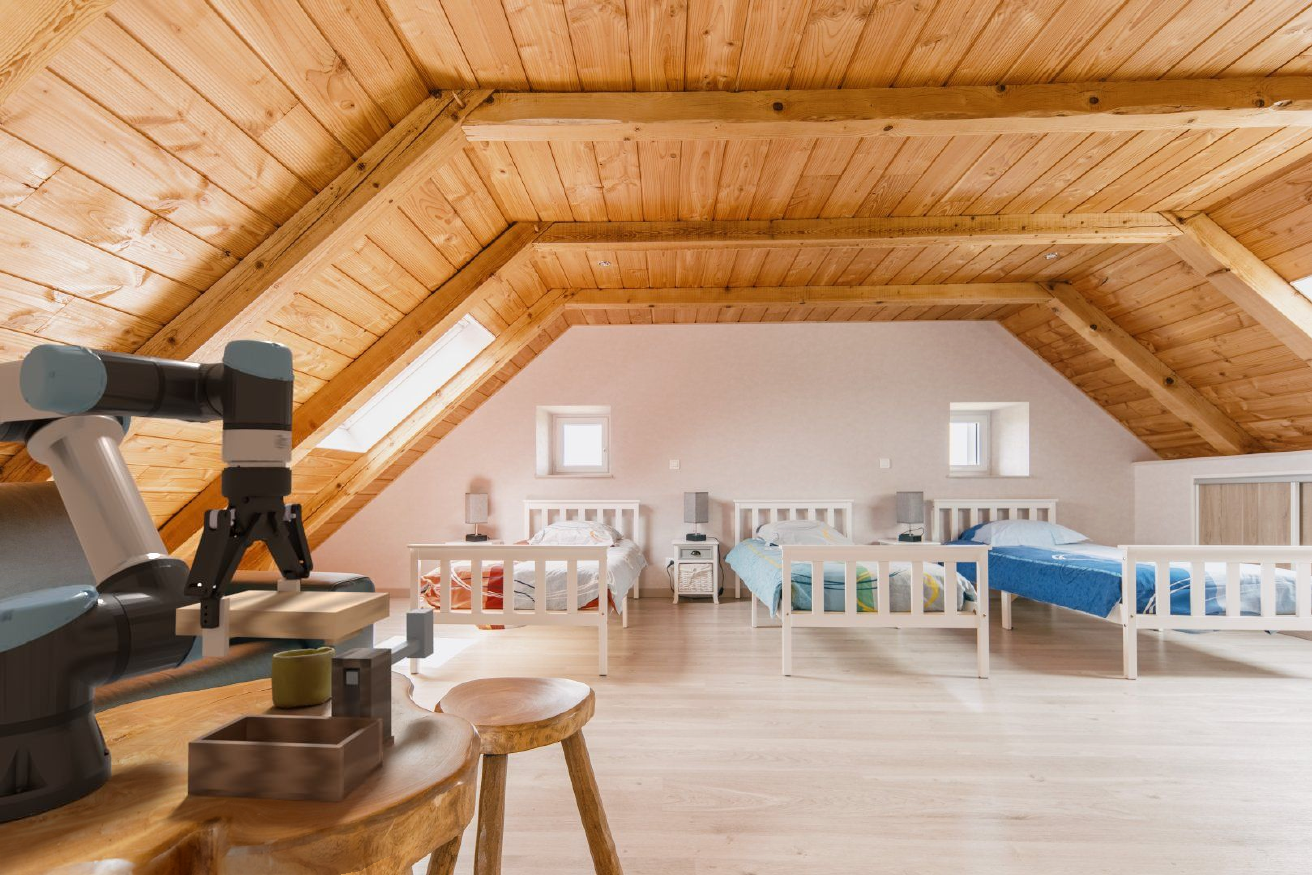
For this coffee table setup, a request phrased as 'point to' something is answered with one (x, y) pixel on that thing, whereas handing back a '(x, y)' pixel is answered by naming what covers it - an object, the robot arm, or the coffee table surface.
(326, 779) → the toolbox
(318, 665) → the mug
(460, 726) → the coffee table surface
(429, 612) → the sliding bolt
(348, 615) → the lid
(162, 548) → the robot arm
